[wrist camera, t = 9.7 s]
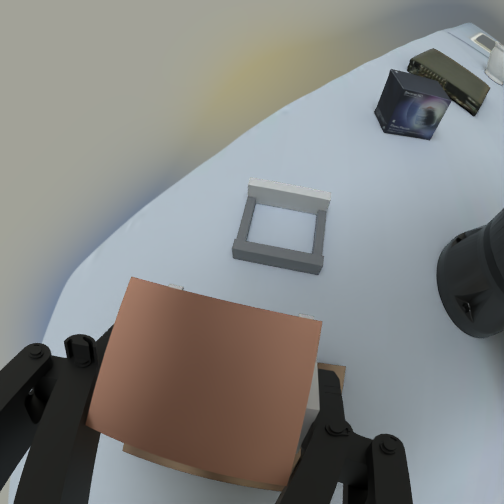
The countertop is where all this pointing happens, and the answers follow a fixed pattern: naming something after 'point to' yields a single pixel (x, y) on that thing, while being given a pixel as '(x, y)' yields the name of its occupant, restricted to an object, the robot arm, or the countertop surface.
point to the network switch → (451, 78)
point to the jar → (496, 64)
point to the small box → (411, 105)
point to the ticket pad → (206, 382)
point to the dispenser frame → (287, 199)
